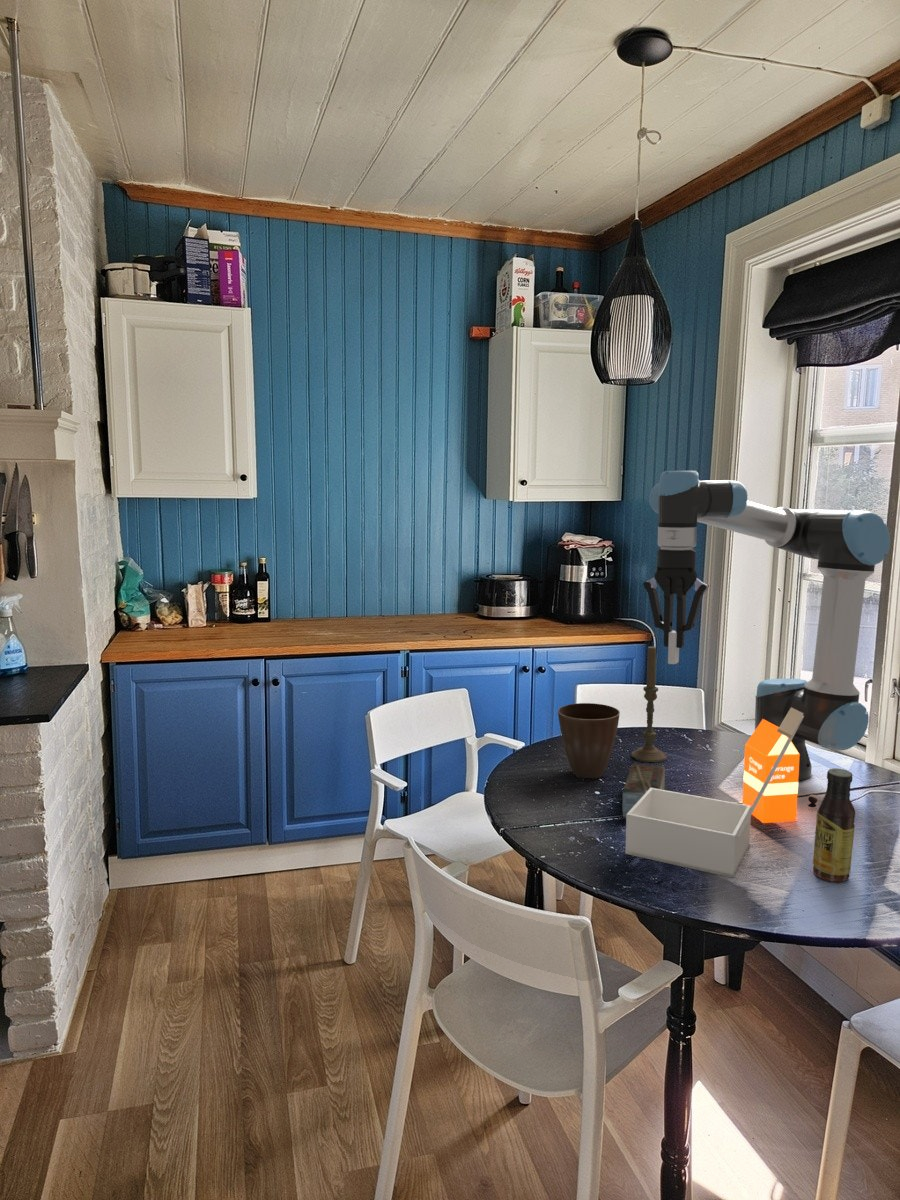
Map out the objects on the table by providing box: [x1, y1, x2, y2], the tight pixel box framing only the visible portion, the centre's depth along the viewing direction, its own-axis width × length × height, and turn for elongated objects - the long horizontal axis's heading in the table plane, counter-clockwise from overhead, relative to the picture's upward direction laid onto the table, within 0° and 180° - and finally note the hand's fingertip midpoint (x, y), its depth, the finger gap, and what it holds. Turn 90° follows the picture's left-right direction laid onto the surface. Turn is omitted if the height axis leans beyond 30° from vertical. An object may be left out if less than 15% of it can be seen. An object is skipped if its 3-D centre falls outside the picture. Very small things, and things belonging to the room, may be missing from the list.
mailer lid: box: [737, 707, 804, 837], centre depth 150 cm, size 21×17×3 cm
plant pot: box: [557, 702, 621, 780], centre depth 200 cm, size 15×15×16 cm
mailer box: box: [624, 788, 752, 879], centre depth 159 cm, size 20×16×8 cm
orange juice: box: [741, 719, 800, 824], centre depth 175 cm, size 8×9×20 cm
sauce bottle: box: [812, 767, 856, 883], centre depth 146 cm, size 7×6×20 cm
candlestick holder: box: [630, 643, 668, 764], centre depth 211 cm, size 9×9×30 cm
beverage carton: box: [621, 762, 666, 818], centre depth 182 cm, size 8×19×7 cm, turn 161°
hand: (673, 662), depth 167 cm, fingers closed
